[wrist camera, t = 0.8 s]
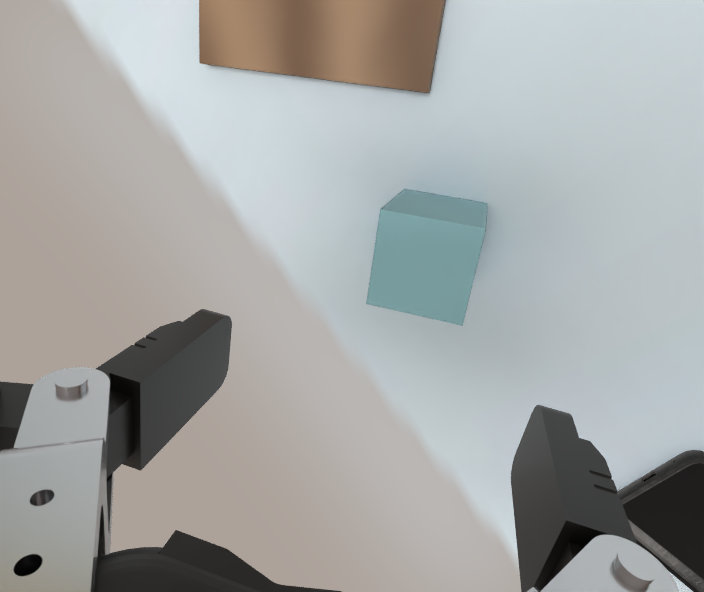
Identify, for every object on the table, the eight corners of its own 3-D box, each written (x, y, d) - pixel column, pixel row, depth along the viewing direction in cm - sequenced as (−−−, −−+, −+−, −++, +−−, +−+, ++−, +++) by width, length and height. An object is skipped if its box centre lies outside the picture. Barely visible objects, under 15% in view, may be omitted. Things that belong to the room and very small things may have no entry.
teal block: (487, 202, 28) (485, 228, 21) (468, 281, 30) (462, 325, 23) (404, 188, 29) (380, 209, 22) (392, 265, 31) (366, 303, 24)
